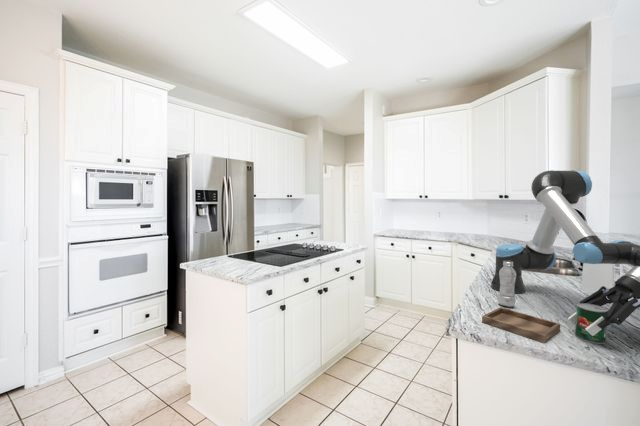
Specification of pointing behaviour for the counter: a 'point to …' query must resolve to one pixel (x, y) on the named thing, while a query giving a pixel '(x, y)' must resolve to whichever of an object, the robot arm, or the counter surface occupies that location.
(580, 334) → the canned tomato
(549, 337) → the walnut tray
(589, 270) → the milk
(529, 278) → the counter surface
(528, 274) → the counter surface
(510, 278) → the plastic bottle
